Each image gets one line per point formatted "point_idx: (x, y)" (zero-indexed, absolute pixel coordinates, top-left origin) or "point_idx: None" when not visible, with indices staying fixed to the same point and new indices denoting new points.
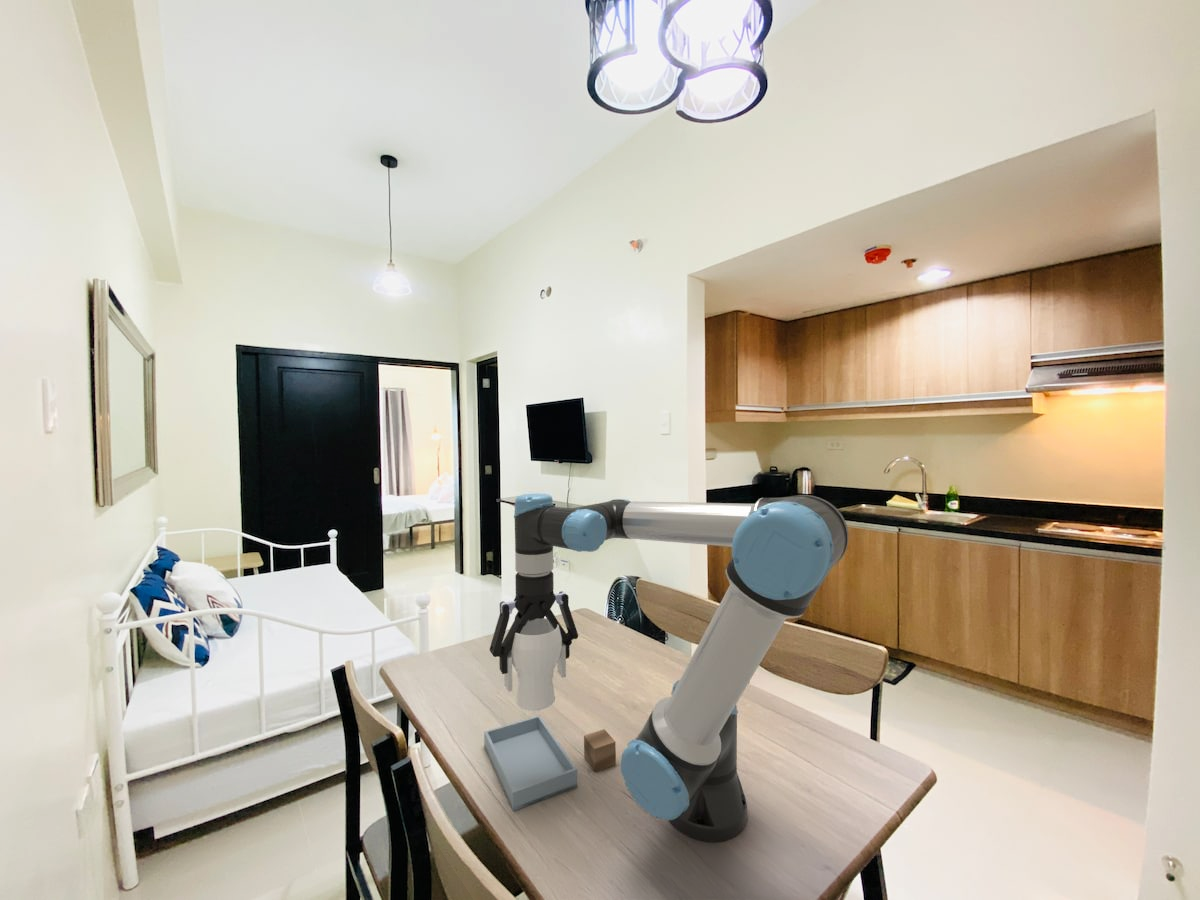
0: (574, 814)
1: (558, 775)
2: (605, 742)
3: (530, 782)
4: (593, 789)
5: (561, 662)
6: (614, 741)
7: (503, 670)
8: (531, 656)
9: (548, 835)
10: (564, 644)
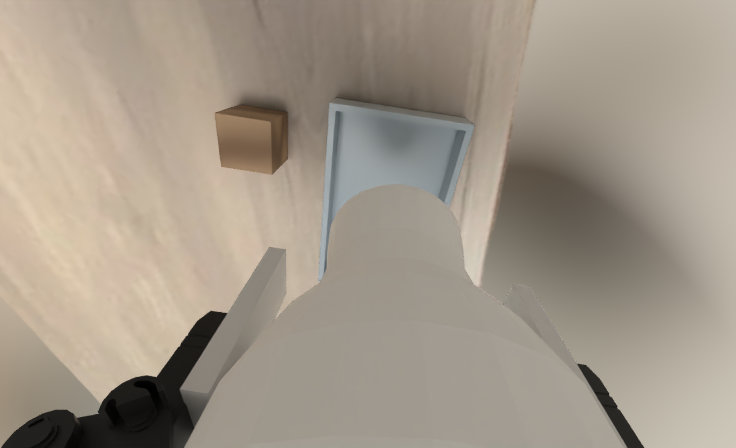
0: (379, 31)
1: (373, 111)
2: (237, 124)
3: (406, 158)
4: (312, 70)
5: (261, 304)
6: (216, 114)
7: (593, 382)
8: (576, 403)
9: (451, 12)
10: (184, 399)
